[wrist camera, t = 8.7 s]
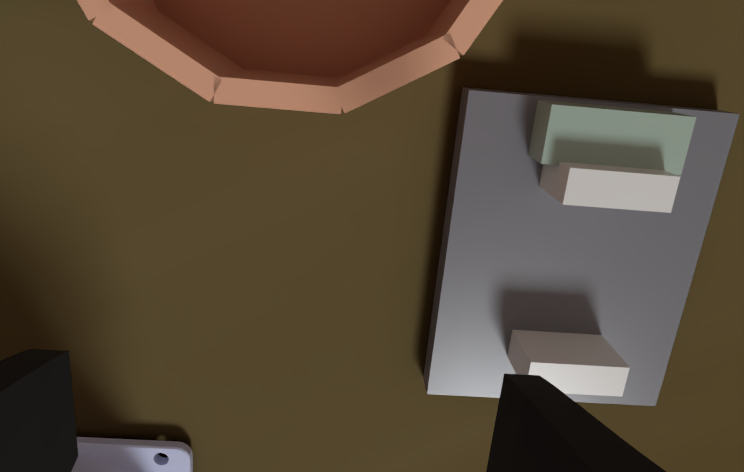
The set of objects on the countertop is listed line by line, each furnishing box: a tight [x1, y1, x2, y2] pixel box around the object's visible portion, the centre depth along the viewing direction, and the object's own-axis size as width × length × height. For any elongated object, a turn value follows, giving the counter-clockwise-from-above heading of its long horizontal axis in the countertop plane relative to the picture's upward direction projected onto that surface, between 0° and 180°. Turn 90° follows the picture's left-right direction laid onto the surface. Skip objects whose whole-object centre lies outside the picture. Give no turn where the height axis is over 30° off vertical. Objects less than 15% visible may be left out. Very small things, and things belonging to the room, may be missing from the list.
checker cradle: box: [423, 87, 740, 406], centre depth 18 cm, size 8×10×3 cm
